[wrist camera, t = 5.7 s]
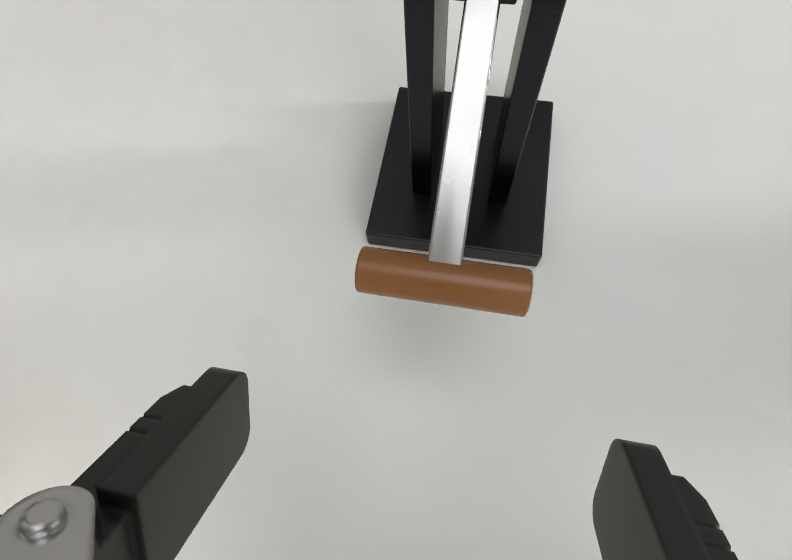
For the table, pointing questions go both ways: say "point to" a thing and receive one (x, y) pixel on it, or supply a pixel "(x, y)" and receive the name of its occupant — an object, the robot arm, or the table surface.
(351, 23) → the table surface
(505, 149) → the crank stand
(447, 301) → the handle lever
